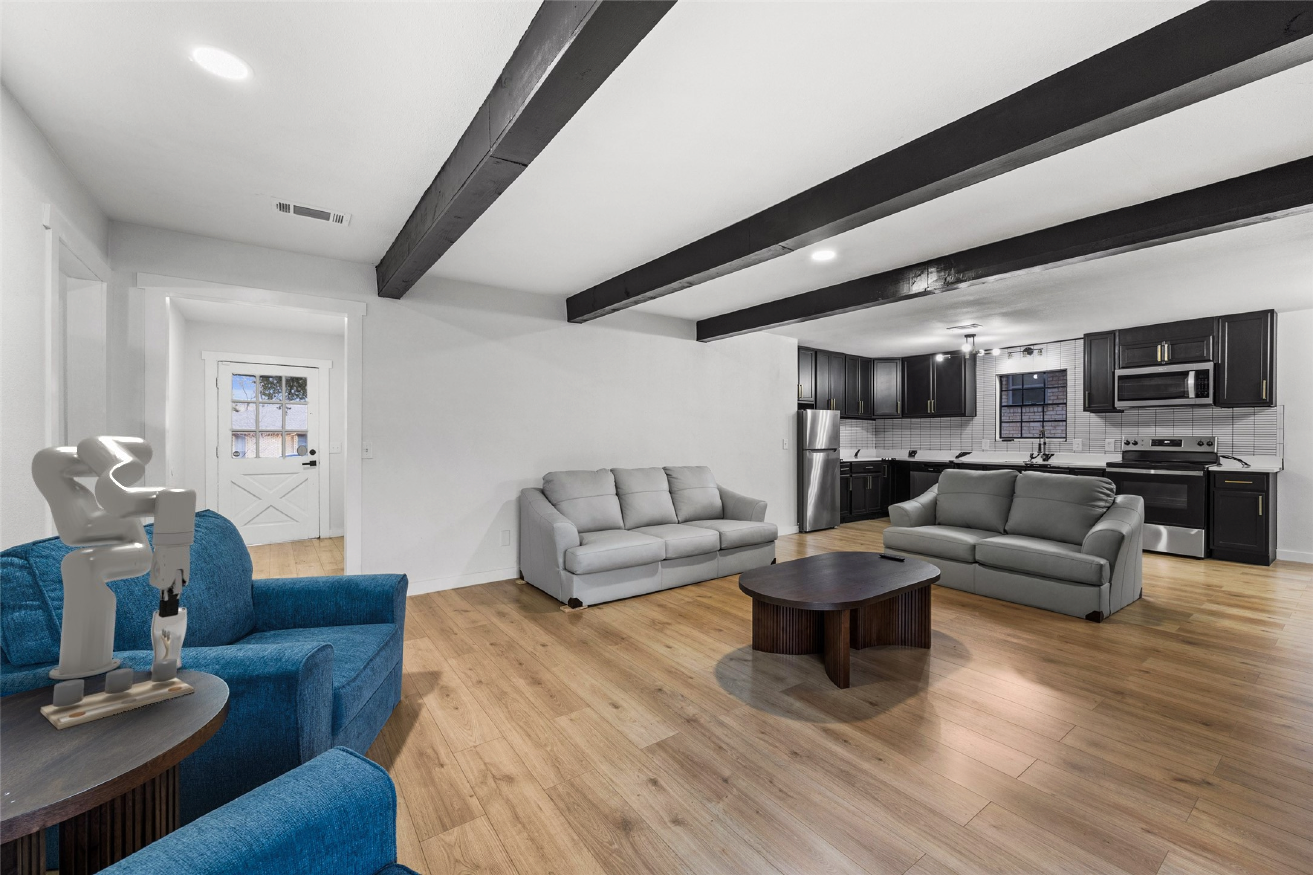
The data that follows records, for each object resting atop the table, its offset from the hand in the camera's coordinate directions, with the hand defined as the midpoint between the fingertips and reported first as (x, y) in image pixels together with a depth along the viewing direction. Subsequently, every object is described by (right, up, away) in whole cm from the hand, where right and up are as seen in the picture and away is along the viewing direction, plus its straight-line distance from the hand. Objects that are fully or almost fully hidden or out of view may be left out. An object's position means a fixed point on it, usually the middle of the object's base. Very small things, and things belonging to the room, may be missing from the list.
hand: (168, 615), depth 132 cm
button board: (-3, -17, -9) cm, 19 cm away
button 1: (-9, -14, -14) cm, 22 cm away
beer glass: (-11, -18, +11) cm, 24 cm away
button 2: (0, -15, -1) cm, 15 cm away
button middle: (-5, -14, -8) cm, 17 cm away
